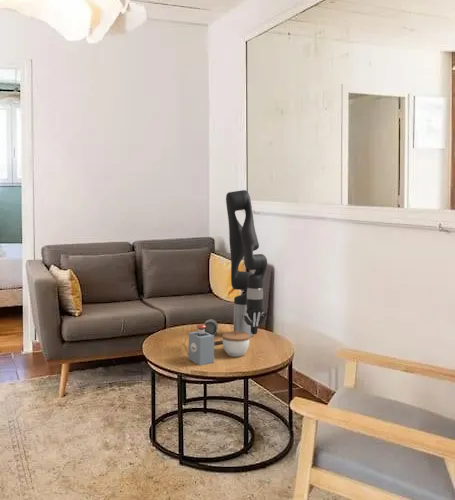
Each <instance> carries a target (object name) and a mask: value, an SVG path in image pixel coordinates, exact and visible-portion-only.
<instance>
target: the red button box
mask: <svg viewBox="0 0 455 500" xmlns="http://www.w3.org/2000/svg"><path fill="white" fill-rule="evenodd" d="M214 342H215V335H211V334H209V333H207V332H205V336H200V337H199V336H198V330H197V331H191V332H188V360H189V359H190V360H189V361H192V362H193V363H195V364H196V365H199V366H205V365H208V364H214V363H215V346H214Z"/></svg>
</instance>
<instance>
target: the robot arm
mask: <svg viewBox="0 0 455 500" xmlns="http://www.w3.org/2000/svg"><path fill="white" fill-rule="evenodd" d="M251 201H252V200H251V196H250V194H249V192H248V191H247V190H246V189H245V190H244V189H243V190H236V191H229V192H227V193H226V196H225V204H226V205H225V206H226V211H227V219H228V231H229V232H228V235H229V237H228V238H229V240H228V241H229V249H230V252H229V253H230V266H231V267H230V283H231V288H232V289H233V290H239V291H240V290H241V291H245V292H244V293H242V294H240V295H236V296H235V297H234V298H233V331H239V332H245V333H248V334H249V335H250V338H251V337H253V336H254V335H257V333H258V329H259V328H258V327H259V326H260V325H262V323H263V322H264V320H265V318H266V317H267V316H268V314H267V313H265V312H264V311H263V306H264V277H265V274H266V271H267V267H268V258H267V257H266V255H265V254H263V253H257V254H254V251H257V250H258V249H259V248H260V244H259V240H258V236H257V233H256V229H255V227H256V226H255V222H254V221H255V220H254V213H253V206H252V202H251ZM243 210H244V213H245V216H244V218H245V219H244V221H243V224H241V223H240V222H239V220H238V218H237V216H236V212H239V211H243ZM242 260H243V263H244V266H245V268H246V269H247V270H249V271H239V266H240V264H241V262H242ZM251 271H254V273H252V272H251Z"/></svg>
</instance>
